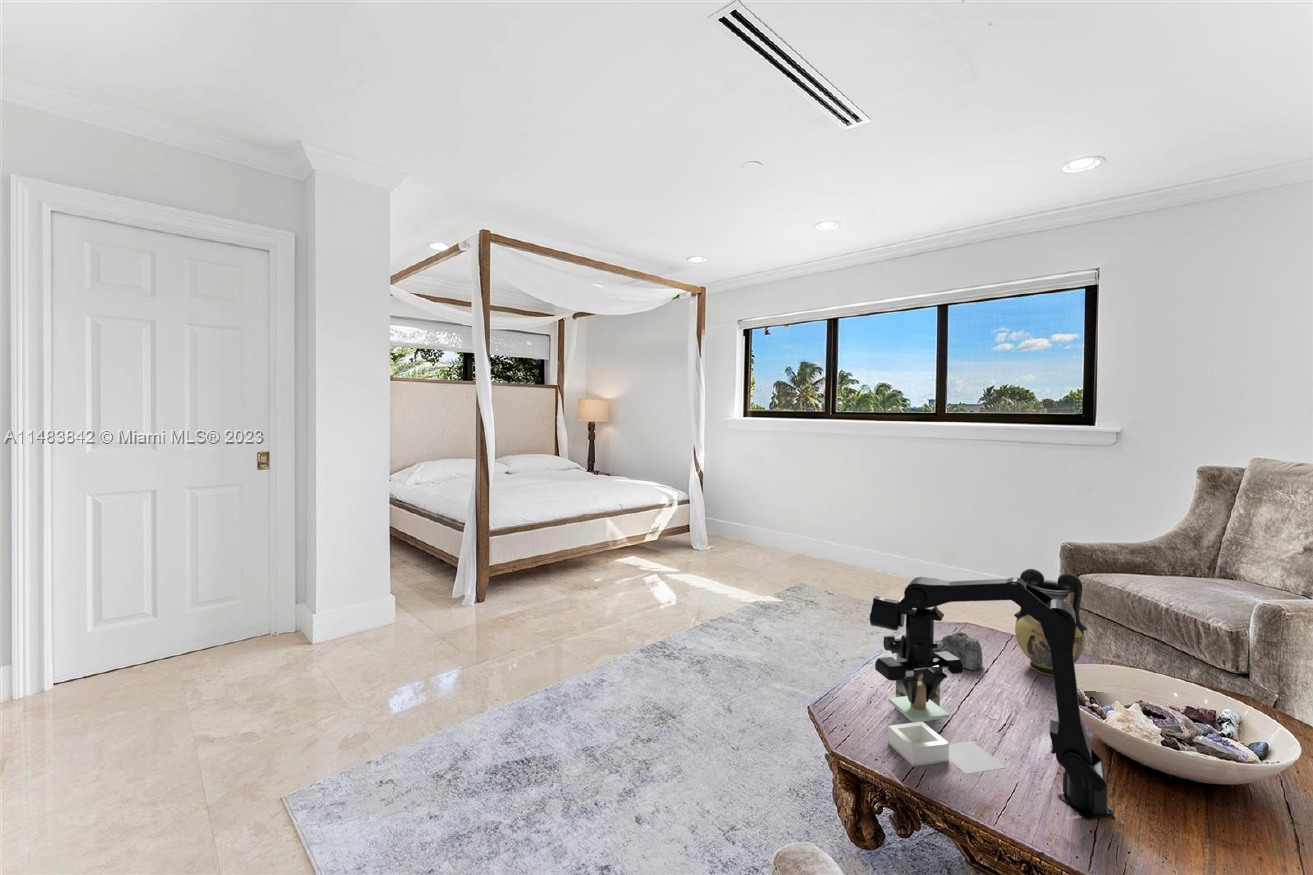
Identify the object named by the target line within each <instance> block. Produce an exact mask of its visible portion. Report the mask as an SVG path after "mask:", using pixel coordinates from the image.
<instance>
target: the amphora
mask: <svg viewBox="0 0 1313 875" xmlns="http://www.w3.org/2000/svg"><path fill="white" fill-rule="evenodd" d="M1019 578H1020V579H1022V580H1023V581H1025V582H1026V583H1027V584H1029V585H1031V586H1032V587H1034V588H1036V589H1038V590H1040V591H1042V592H1044V593H1046V594H1047V595H1049V596H1050V597H1052V598H1053V599H1057V600H1062V601H1064V600H1066V599H1067V598H1068V596H1069V594H1071V593H1073V594H1074V595H1073V602H1072V605H1071V606H1072V608H1073V609H1074V611H1075V617H1076V632H1075V642H1074V649H1073V658H1074V664H1075V663H1076V662H1077V661H1078V660H1079V658H1080V657H1081V655H1082V654H1083V651H1084V648H1085V645H1086V637H1085V636H1086V635H1085V631H1088V628H1087V626H1085V624H1084V623H1082V622H1081V617H1080V609H1081V603H1082V602H1081V600H1082V596H1083V590H1084V588H1083V583H1082V581H1081V579H1080V578H1079V577H1078V576H1077V575H1075V574H1073V573H1066V572H1065V573H1063V574H1060V575H1059V576H1058V578H1057V580H1052V579H1051V580H1050V579H1045V577H1044V575H1043V573H1042V572H1041V571H1039V570H1037V569H1036V568H1035V569H1034V568H1027V569H1025V570H1023V571H1022V572H1021V574H1020V575H1019ZM1014 617H1015V618H1016V622H1015V627H1014V629H1015V631H1014V632H1015V638H1016V641H1017V643H1018V646H1019V648H1020V649H1021V651H1022V653H1024V655H1025V656H1026V657H1027V658H1028V659H1030V662H1029V667H1030V668H1031V669H1032V670H1033V671H1035V672H1037V673H1040V674H1042V675H1046V676H1051V677H1054V675H1053V667H1052V658H1051V651H1050V649H1049V646H1048V644H1047V641H1046V639H1045V636H1044V633H1043V630H1042V627H1041V623H1040V622H1038V621H1037V620H1035V619H1034V618H1032V617H1031V616H1030V615H1029V614H1028V613H1027V612H1026V611H1024V610H1023V609H1022V608H1021V607H1020V610H1019V611H1017V612H1016V613H1014Z"/></svg>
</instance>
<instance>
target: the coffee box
mask: <svg viewBox="0 0 1313 875" xmlns="http://www.w3.org/2000/svg"><path fill="white" fill-rule="evenodd" d="M934 652H941V650H940V649H938V648H933V653H934ZM895 658H896V659H895V660H897V661H898V662H906V661H905V659H904V658H901V657H899V654H898V653H896V657H895ZM914 677H916V678H917V679H918V682H922V683H923V674H922V671H921V669H920V670H914ZM903 696H907V694H906V691H905V688H904V685H903V683H902V681H901V680H895V697H903ZM930 700H931V701H933V702H934V703H935V704H936V705H938V706H939V707H940V706H941V683H940V684H939V686H938V687H937V688H936V690H935V691H934V693H933V694H932V696H931V698H930ZM940 708H941V707H940Z"/></svg>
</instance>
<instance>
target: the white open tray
mask: <svg viewBox="0 0 1313 875" xmlns="http://www.w3.org/2000/svg"><path fill="white" fill-rule="evenodd" d="M887 744H888V745H889V746H890V747H891V748H893V749H894V750H895V752H896V753H898V755H900V756H901V757H902V758H903V759H904V760H905V761H906V763H908V764H909V765H910V766H911V768H913V767H920V766H927V765H936V764H941V763H947V762H949V761H950V760H949V744H950V743H949V742H948V741H947V740H946V739H945V738H943V737H942V736H941V735H940V734H939V733H937V732H936V731H935V730H934V729H932V728H931V727H930V726H929V725H928V724H926V723H925V721H922V722H914V723H913V722H908V723H900V724H899V723H898V724H891V725H888V726H887Z"/></svg>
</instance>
